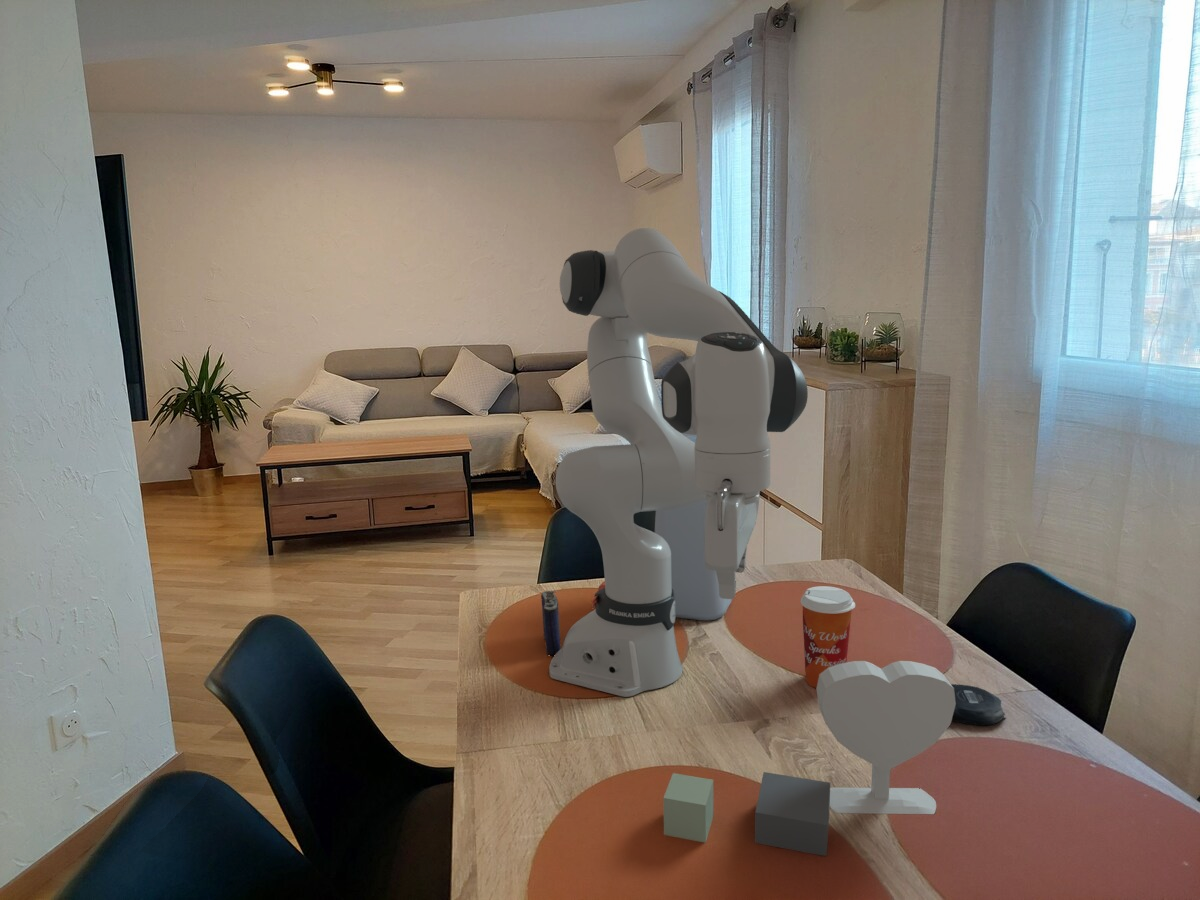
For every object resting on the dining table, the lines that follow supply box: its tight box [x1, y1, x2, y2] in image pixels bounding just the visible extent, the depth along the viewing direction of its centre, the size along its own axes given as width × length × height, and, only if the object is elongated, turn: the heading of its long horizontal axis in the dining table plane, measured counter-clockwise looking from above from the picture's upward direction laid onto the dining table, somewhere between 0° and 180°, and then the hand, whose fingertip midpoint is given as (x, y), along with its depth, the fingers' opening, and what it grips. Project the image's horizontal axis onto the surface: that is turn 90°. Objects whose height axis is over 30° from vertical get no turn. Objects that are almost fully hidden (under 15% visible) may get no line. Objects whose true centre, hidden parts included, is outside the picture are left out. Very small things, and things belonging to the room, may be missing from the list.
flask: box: [540, 589, 562, 656], centre depth 143 cm, size 9×3×11 cm, turn 8°
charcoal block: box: [754, 771, 831, 857], centre depth 94 cm, size 8×8×4 cm
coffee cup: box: [800, 585, 856, 689], centre depth 126 cm, size 8×8×15 cm
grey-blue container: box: [654, 500, 733, 622], centre depth 157 cm, size 15×15×28 cm
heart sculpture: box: [815, 660, 956, 815], centre depth 97 cm, size 16×5×18 cm, turn 87°
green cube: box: [662, 772, 714, 843], centre depth 95 cm, size 5×5×5 cm
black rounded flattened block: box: [950, 683, 1006, 727], centre depth 118 cm, size 9×6×15 cm
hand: (733, 583), depth 96 cm, fingers open, 8 cm apart
